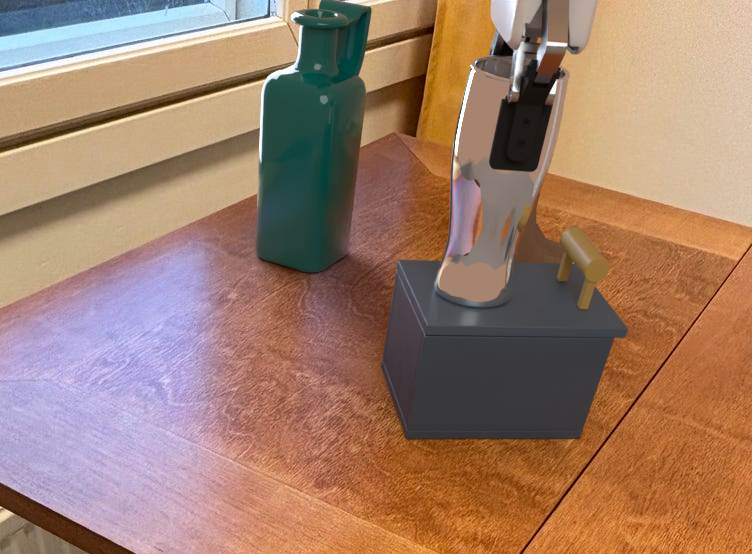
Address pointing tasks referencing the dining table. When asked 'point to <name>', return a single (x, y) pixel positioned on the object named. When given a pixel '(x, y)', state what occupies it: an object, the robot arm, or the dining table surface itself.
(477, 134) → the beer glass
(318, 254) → the green bottle
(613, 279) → the dining table surface
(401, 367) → the chest
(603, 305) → the lid
